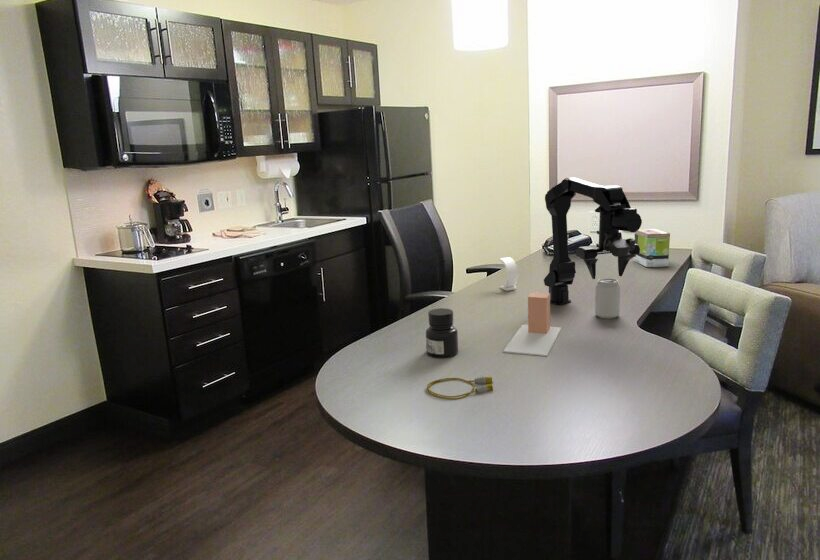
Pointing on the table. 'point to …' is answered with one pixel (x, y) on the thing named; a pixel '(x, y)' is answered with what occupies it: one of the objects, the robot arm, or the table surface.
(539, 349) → the mat
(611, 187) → the robot arm
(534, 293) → the block
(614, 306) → the can
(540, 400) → the table surface
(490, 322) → the table surface
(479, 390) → the extension cord
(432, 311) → the ink bottle
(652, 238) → the tea box
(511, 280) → the headphone stand
